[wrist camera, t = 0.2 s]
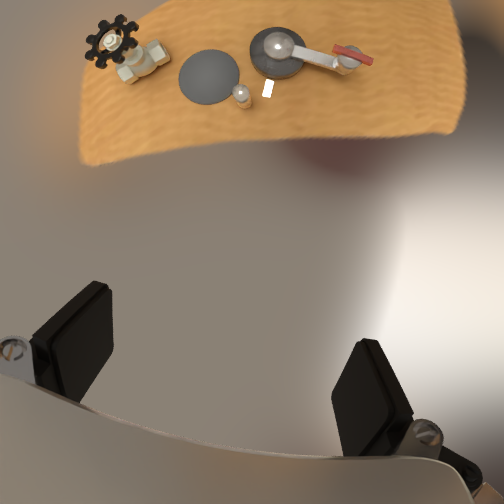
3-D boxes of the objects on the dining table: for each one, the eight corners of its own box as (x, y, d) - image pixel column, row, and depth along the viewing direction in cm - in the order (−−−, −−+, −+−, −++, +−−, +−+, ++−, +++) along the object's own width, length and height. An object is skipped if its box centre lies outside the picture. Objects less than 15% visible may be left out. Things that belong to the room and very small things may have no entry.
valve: (121, 61, 33) (77, 38, 22) (160, 37, 32) (126, 3, 21) (136, 95, 35) (93, 79, 24) (177, 71, 34) (145, 43, 23)
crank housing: (258, 29, 32) (256, 7, 25) (309, 41, 32) (317, 21, 25) (235, 107, 36) (228, 97, 29) (288, 120, 36) (293, 112, 29)
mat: (188, 47, 33) (187, 46, 32) (245, 55, 33) (245, 54, 33) (172, 99, 35) (172, 99, 35) (230, 109, 36) (230, 109, 35)
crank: (260, 58, 31) (259, 41, 25) (267, 34, 30) (267, 15, 24) (354, 85, 31) (369, 74, 26) (360, 61, 30) (375, 48, 25)
